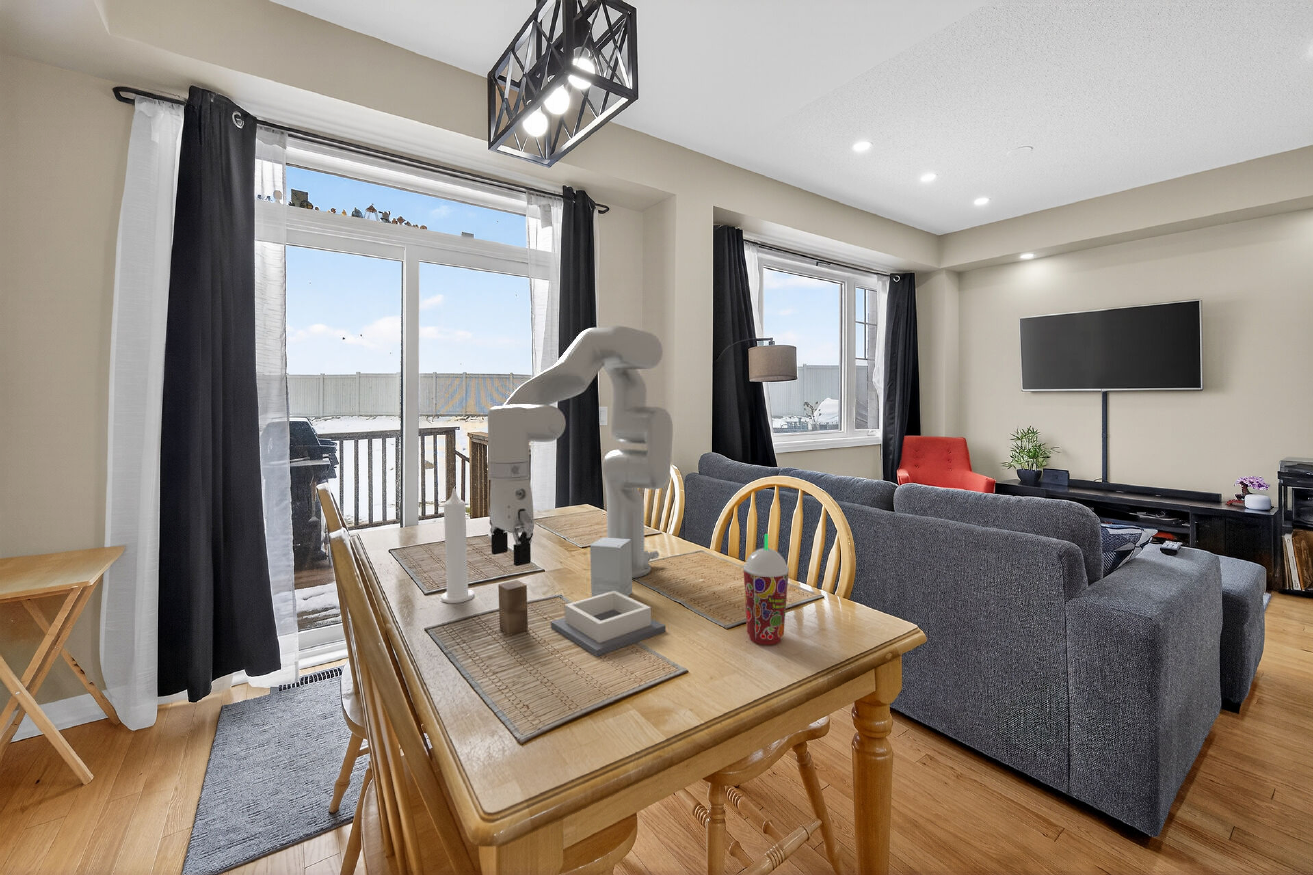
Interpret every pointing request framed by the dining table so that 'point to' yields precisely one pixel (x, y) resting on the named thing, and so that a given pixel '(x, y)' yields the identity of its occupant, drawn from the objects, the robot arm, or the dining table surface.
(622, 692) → the dining table surface
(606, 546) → the supplement box
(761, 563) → the smoothie
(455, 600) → the candle
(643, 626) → the collar stand
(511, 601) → the block
